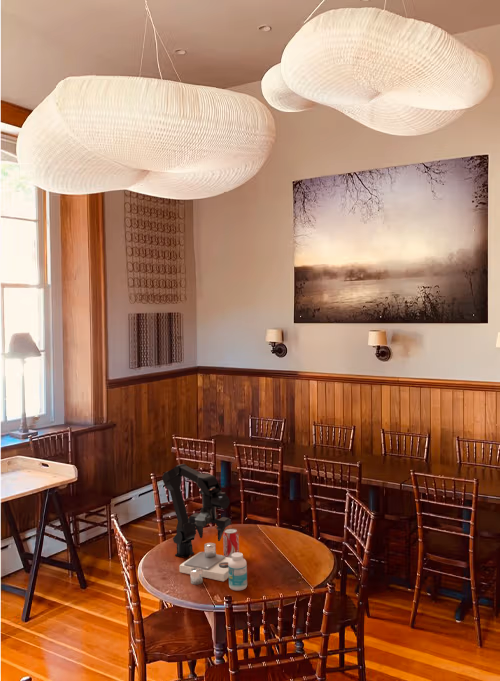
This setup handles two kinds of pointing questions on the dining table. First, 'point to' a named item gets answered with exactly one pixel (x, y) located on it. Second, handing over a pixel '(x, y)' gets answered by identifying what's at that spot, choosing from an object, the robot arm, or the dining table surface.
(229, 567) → the pill bottle
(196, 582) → the cylinder
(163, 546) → the dining table surface
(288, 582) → the dining table surface
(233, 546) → the soda can
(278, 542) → the dining table surface
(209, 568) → the scale
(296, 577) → the dining table surface
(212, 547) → the cylinder
